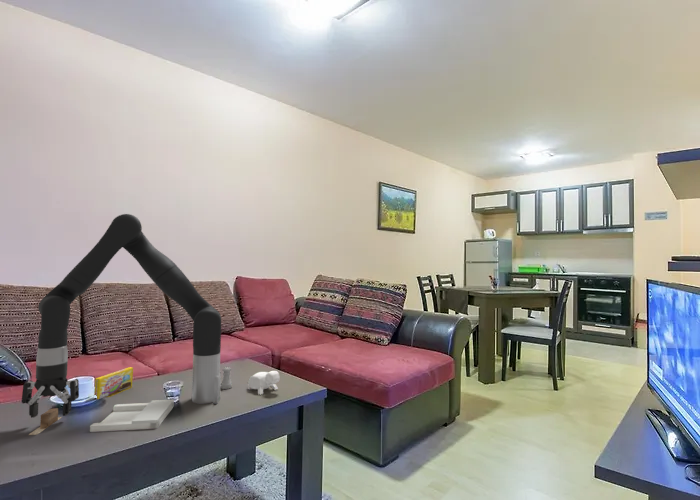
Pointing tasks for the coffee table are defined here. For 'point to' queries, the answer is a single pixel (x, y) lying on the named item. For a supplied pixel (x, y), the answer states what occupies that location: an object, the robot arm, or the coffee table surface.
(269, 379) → the white elephant figurine
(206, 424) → the coffee table surface
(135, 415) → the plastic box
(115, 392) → the candy box
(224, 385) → the rook chess piece
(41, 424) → the cover plate
